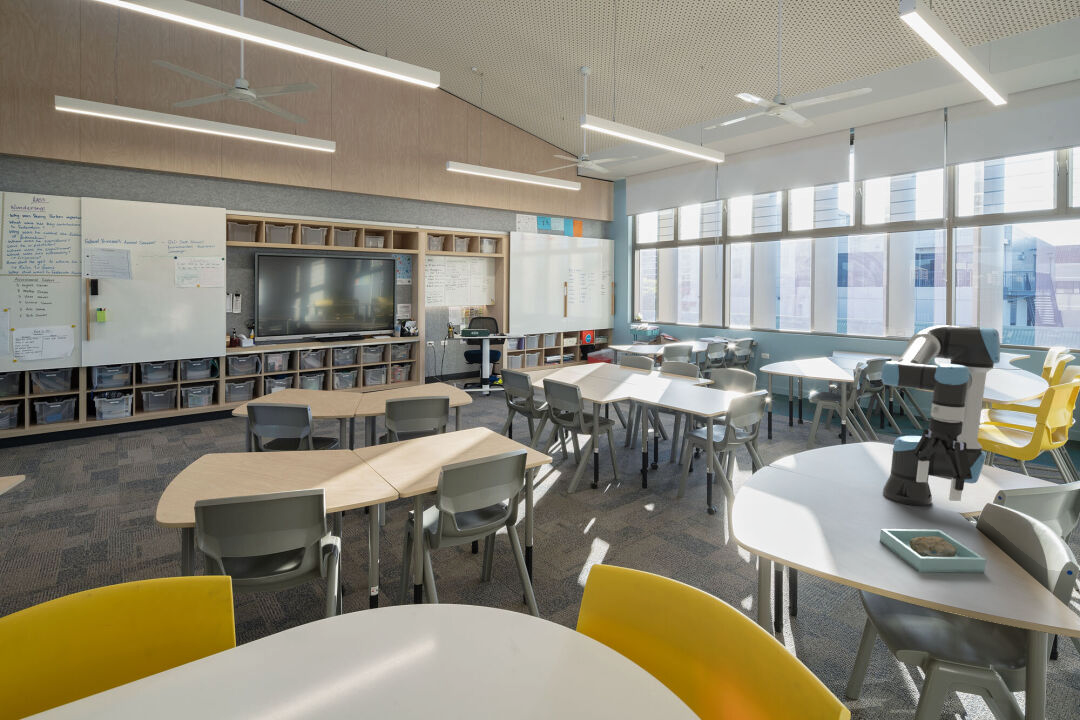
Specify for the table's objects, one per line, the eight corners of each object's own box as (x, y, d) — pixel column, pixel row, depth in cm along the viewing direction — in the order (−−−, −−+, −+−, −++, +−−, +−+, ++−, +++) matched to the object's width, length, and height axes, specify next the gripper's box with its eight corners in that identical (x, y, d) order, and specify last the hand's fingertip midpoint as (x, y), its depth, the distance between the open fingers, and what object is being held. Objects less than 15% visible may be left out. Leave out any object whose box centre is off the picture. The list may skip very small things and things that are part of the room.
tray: (938, 542, 170) (939, 529, 170) (984, 572, 153) (985, 559, 152) (879, 541, 170) (881, 528, 170) (918, 571, 153) (920, 558, 152)
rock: (903, 548, 165) (905, 534, 164) (938, 546, 166) (940, 533, 165) (923, 561, 157) (925, 546, 156) (960, 559, 158) (961, 545, 157)
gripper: (904, 408, 168) (896, 474, 171) (966, 431, 143) (956, 508, 146) (929, 408, 168) (921, 474, 171) (995, 431, 143) (984, 509, 146)
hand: (937, 490), depth 159 cm, fingers open, 13 cm apart
